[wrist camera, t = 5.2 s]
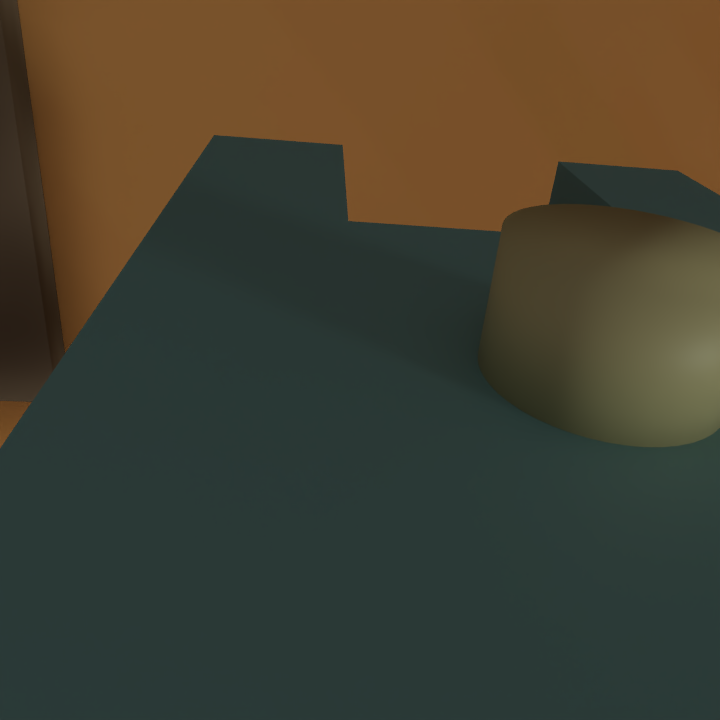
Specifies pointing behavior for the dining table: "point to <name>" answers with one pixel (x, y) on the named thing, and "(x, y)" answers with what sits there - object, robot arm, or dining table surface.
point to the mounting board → (23, 233)
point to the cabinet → (377, 462)
